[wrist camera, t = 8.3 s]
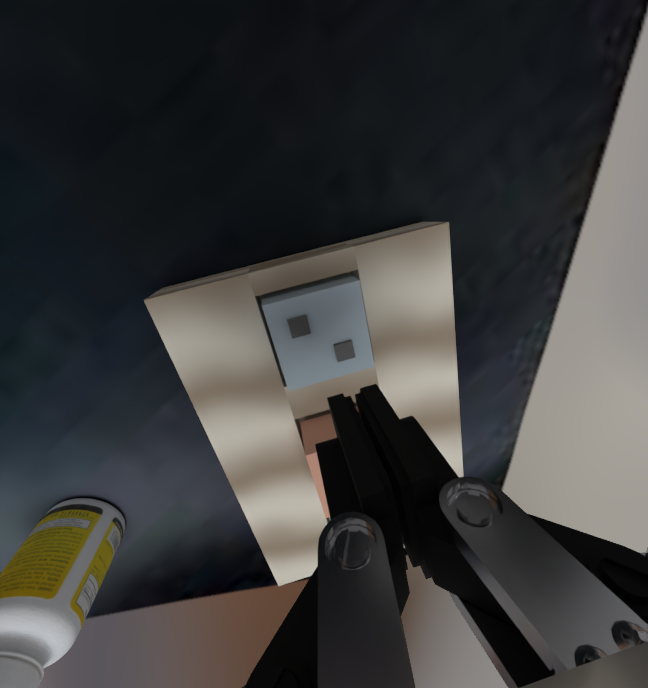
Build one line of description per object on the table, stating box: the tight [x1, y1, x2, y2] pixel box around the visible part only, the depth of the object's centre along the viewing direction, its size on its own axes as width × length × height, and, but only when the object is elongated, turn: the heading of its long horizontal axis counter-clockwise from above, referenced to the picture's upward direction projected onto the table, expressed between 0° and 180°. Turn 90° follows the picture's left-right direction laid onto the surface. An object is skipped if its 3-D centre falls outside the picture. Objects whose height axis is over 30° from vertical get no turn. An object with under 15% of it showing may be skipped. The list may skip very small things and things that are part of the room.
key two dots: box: [262, 272, 375, 391], centre depth 18 cm, size 5×5×3 cm
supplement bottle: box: [0, 498, 125, 688], centre depth 19 cm, size 5×5×10 cm
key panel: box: [144, 222, 463, 586], centre depth 22 cm, size 24×16×3 cm, turn 13°
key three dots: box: [300, 406, 359, 518], centre depth 19 cm, size 5×5×3 cm
